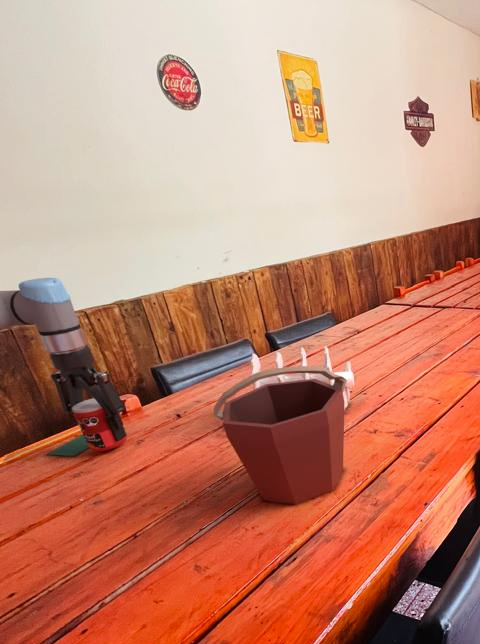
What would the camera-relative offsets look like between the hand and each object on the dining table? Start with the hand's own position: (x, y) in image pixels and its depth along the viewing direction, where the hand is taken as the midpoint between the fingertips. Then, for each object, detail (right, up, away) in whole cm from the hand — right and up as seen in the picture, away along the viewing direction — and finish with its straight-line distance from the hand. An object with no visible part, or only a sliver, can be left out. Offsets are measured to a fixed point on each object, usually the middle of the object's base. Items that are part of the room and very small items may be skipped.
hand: (106, 437), depth 125 cm
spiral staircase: (+46, +6, +14) cm, 48 cm away
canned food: (0, -2, +1) cm, 2 cm away
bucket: (+54, -9, -18) cm, 58 cm away
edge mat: (-9, -1, +5) cm, 11 cm away
